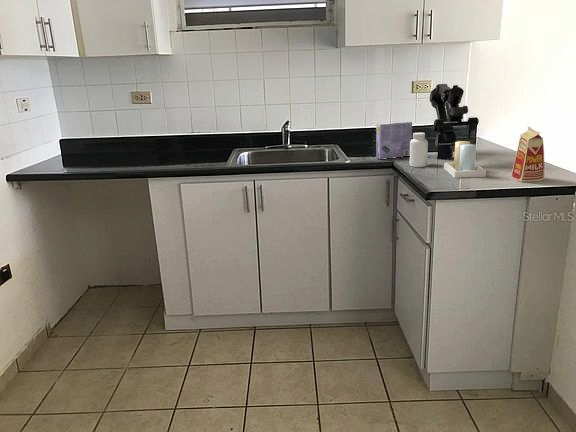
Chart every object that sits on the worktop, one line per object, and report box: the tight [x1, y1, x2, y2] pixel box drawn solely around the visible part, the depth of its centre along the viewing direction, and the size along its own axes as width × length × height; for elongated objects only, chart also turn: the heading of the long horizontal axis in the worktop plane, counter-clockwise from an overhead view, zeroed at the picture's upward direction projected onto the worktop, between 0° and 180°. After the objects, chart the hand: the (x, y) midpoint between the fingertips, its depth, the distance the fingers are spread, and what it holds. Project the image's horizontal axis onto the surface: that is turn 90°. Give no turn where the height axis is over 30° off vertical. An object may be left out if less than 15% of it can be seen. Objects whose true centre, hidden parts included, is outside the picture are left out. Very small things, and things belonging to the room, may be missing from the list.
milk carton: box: [510, 126, 545, 183], centre depth 187 cm, size 9×9×20 cm
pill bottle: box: [408, 132, 429, 168], centre depth 226 cm, size 8×8×15 cm
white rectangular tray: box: [443, 161, 487, 179], centre depth 207 cm, size 20×12×3 cm, turn 175°
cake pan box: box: [375, 121, 413, 160], centre depth 250 cm, size 19×5×18 cm, turn 108°
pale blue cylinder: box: [459, 143, 477, 171], centre depth 201 cm, size 6×6×12 cm
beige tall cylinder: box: [453, 140, 471, 169], centre depth 209 cm, size 6×6×12 cm
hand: (458, 139), depth 215 cm, fingers open, 9 cm apart
